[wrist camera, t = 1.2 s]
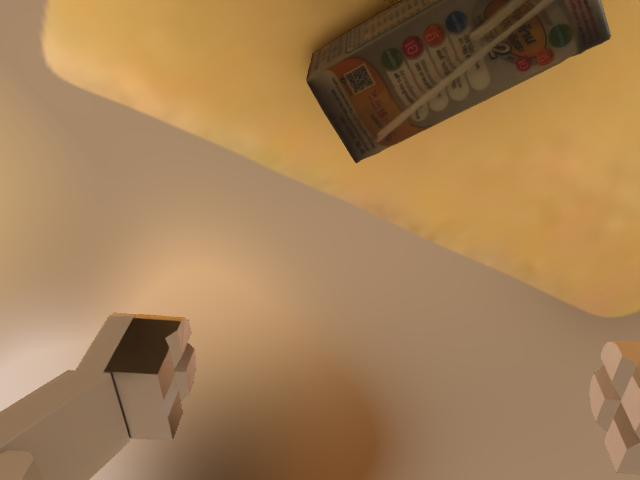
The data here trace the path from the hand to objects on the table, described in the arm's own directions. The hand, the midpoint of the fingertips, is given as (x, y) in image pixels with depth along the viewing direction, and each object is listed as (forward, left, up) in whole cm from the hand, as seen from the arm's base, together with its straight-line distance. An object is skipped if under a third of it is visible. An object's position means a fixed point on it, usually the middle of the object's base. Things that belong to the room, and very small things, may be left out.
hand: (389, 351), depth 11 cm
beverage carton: (+3, +5, -36) cm, 36 cm away
